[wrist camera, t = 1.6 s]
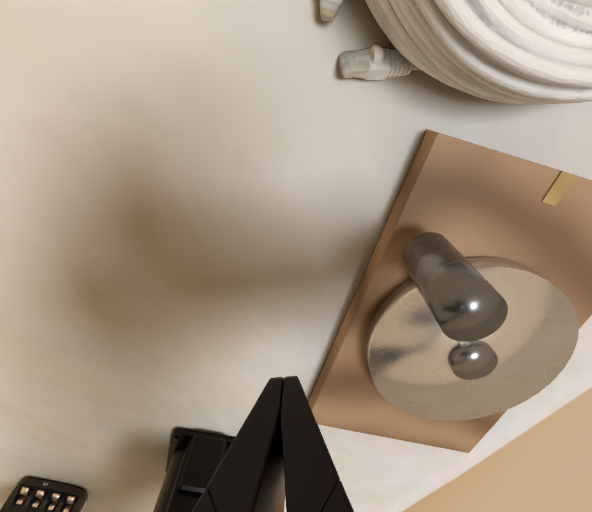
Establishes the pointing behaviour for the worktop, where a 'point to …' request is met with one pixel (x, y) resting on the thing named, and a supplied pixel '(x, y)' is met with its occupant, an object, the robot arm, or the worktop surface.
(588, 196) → the board
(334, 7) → the cable
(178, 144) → the worktop surface
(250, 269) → the worktop surface
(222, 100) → the worktop surface
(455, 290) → the metal disc with handle
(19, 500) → the battery charger
